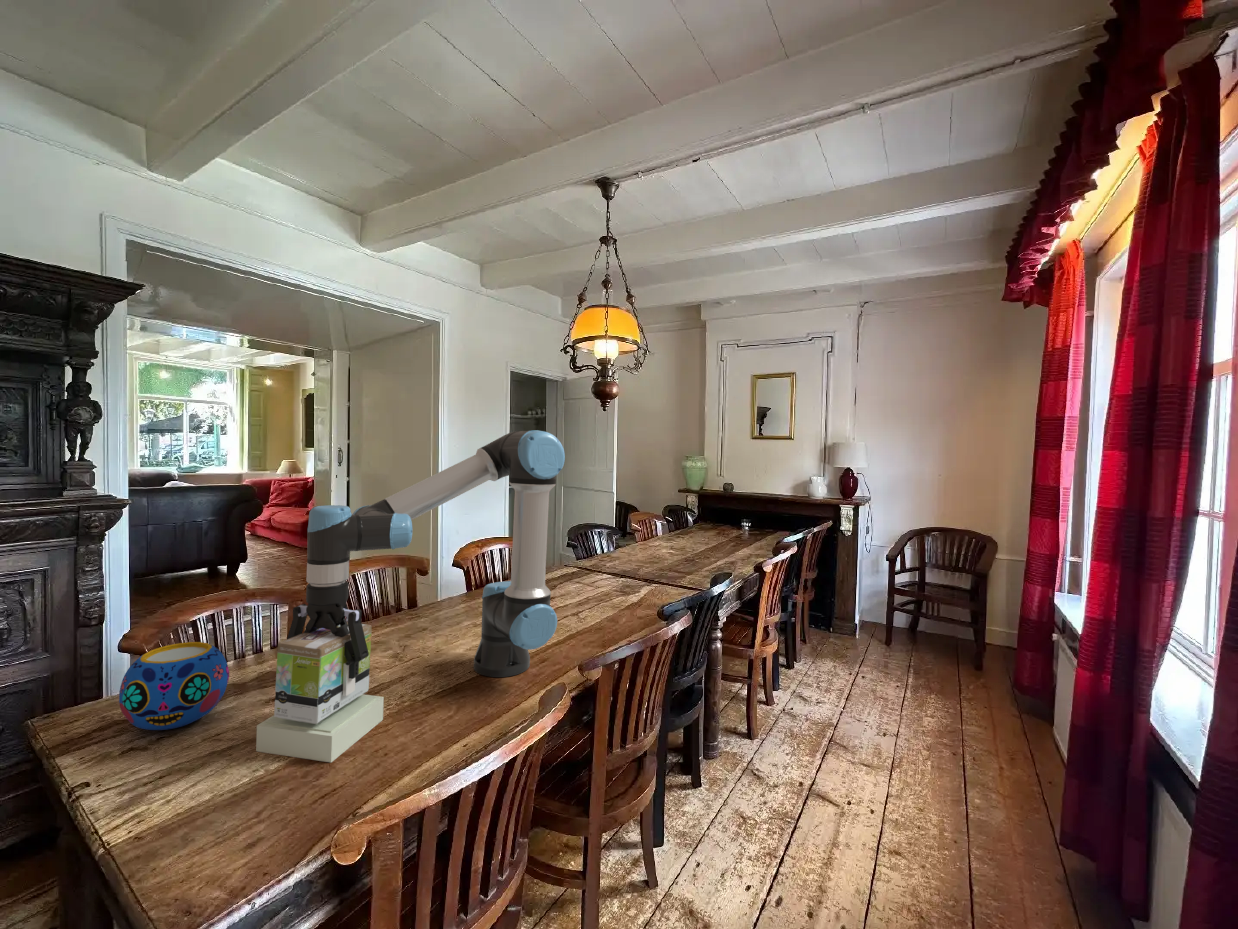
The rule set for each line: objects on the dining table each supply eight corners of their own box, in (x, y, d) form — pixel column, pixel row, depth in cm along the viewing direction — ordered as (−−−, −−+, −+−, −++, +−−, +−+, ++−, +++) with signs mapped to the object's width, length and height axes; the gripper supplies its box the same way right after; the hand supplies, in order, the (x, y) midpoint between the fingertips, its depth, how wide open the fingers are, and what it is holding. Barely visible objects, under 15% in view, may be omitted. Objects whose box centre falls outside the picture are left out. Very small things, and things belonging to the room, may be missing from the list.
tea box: (318, 726, 98) (320, 648, 98) (272, 718, 100) (274, 642, 100) (370, 690, 113) (372, 623, 112) (330, 685, 115) (331, 618, 114)
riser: (383, 719, 113) (383, 695, 113) (331, 762, 97) (331, 734, 97) (317, 711, 116) (317, 687, 116) (256, 751, 100) (256, 724, 100)
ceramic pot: (101, 755, 97) (102, 675, 96) (135, 711, 112) (137, 642, 112) (218, 735, 105) (220, 661, 104) (235, 696, 121) (236, 632, 120)
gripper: (389, 582, 108) (386, 688, 108) (292, 573, 111) (290, 676, 112) (366, 591, 100) (363, 705, 101) (263, 582, 104) (261, 692, 104)
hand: (325, 690), depth 106 cm, fingers closed on tea box, 10 cm apart
